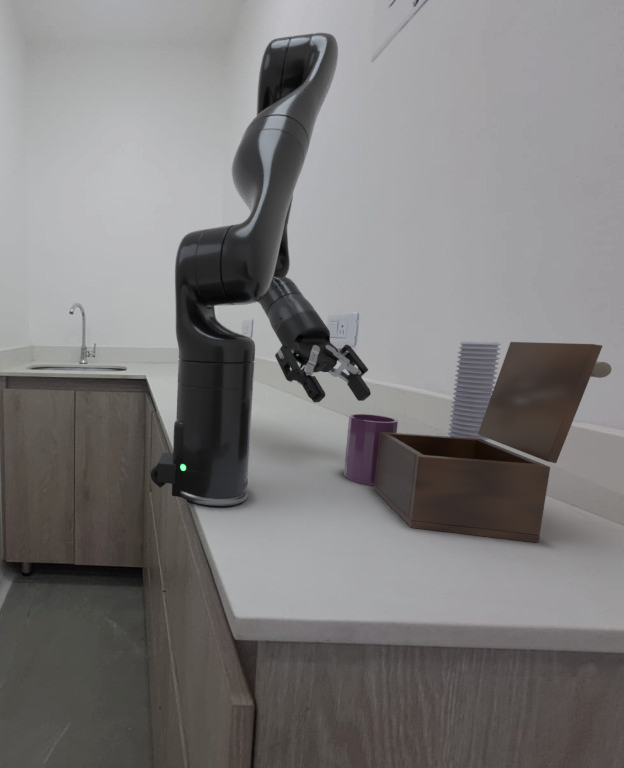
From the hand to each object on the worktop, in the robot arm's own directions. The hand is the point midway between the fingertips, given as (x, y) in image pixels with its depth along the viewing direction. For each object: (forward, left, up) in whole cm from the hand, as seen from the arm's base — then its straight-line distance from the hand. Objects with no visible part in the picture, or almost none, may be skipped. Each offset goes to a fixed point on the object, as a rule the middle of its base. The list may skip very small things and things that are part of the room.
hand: (343, 398), depth 62 cm
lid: (+14, -15, +3) cm, 21 cm away
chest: (+8, -15, -11) cm, 20 cm away
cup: (+3, -5, -11) cm, 12 cm away
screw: (+15, -4, -11) cm, 19 cm away
